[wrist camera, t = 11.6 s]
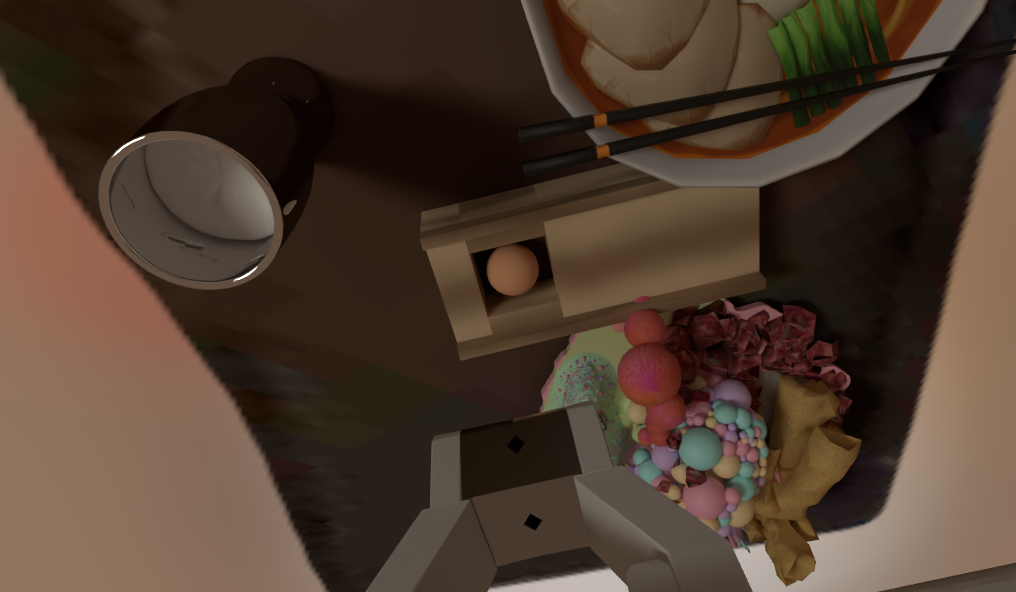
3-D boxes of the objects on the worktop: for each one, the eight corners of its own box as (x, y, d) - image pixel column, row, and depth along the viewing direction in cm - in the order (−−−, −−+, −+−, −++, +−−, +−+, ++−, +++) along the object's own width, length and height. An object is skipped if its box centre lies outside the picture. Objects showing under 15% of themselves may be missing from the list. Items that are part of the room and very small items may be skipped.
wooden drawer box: (421, 212, 40) (419, 239, 37) (738, 133, 39) (766, 154, 36) (459, 327, 45) (460, 360, 42) (740, 260, 44) (765, 288, 41)
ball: (482, 237, 42) (480, 264, 39) (533, 230, 41) (535, 256, 38) (492, 280, 43) (490, 309, 41) (541, 273, 43) (542, 302, 40)
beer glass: (335, 178, 38) (281, 307, 26) (217, 154, 37) (98, 278, 24) (349, 65, 35) (295, 149, 22) (219, 33, 33) (83, 104, 21)
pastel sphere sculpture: (881, 309, 47) (978, 365, 39) (777, 546, 55) (839, 635, 47) (571, 261, 43) (604, 312, 35) (508, 525, 51) (522, 619, 43)
